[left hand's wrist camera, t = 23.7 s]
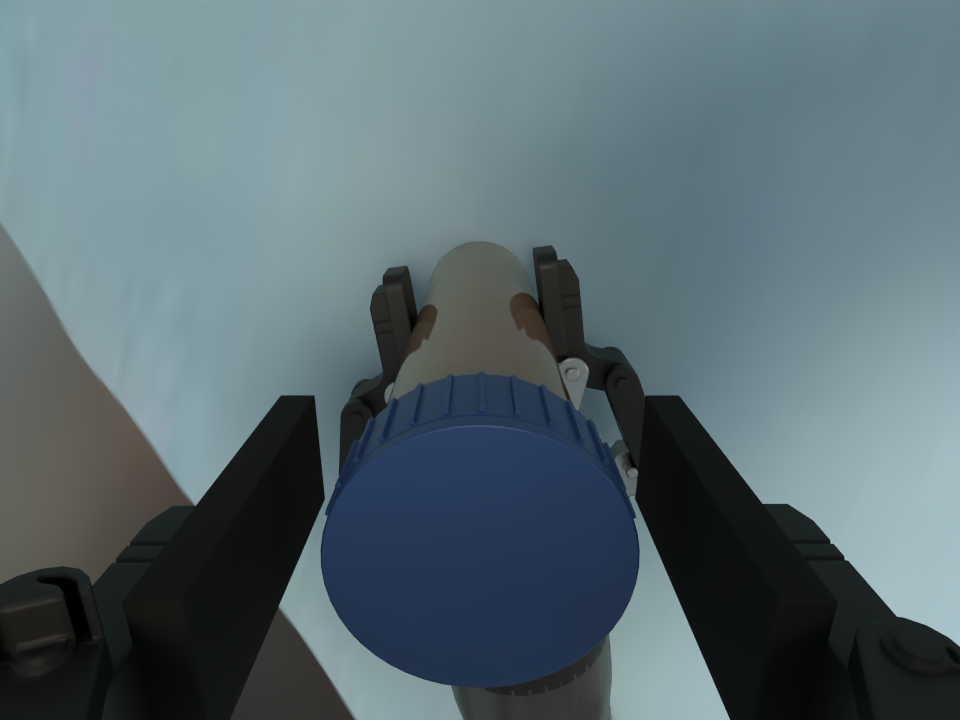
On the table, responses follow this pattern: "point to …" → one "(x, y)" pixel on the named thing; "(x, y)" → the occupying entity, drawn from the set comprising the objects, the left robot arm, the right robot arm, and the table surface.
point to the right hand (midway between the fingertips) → (468, 262)
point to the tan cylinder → (480, 324)
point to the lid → (480, 534)
